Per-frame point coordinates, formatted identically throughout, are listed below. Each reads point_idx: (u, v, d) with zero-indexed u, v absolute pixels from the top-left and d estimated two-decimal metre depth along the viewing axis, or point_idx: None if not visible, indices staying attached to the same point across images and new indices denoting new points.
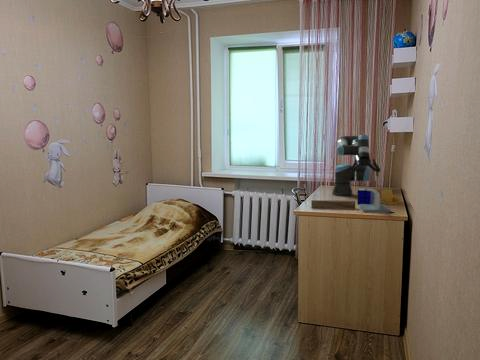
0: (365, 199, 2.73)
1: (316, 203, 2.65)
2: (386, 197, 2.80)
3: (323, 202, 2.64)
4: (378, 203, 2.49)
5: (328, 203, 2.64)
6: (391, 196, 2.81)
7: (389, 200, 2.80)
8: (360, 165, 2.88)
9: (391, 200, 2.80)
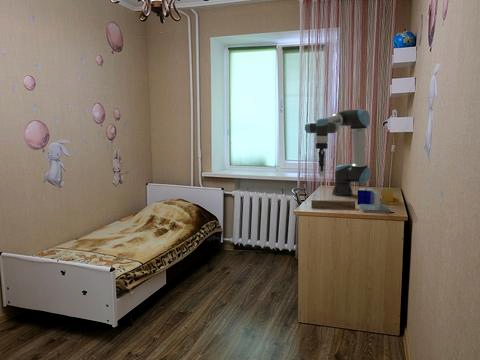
0: (365, 199, 2.73)
1: (316, 203, 2.65)
2: (387, 197, 2.79)
3: (323, 202, 2.64)
4: (378, 203, 2.49)
5: (328, 203, 2.64)
6: (392, 196, 2.80)
7: (389, 200, 2.79)
8: None
9: (391, 200, 2.80)
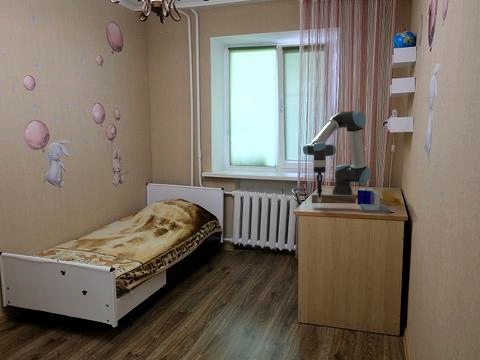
0: (365, 199, 2.73)
1: (316, 198, 2.65)
2: (388, 197, 2.78)
3: (323, 196, 2.64)
4: (378, 203, 2.49)
5: (328, 198, 2.63)
6: (393, 196, 2.79)
7: (390, 200, 2.78)
8: None
9: (393, 200, 2.79)
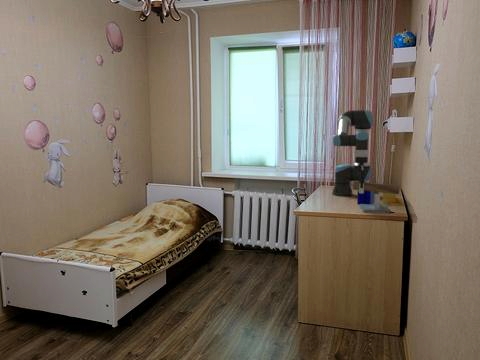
0: (365, 199, 2.73)
1: None
2: (389, 197, 2.77)
3: (366, 184, 2.56)
4: (378, 203, 2.49)
5: (371, 185, 2.55)
6: (394, 197, 2.78)
7: (392, 201, 2.77)
8: None
9: (394, 201, 2.77)
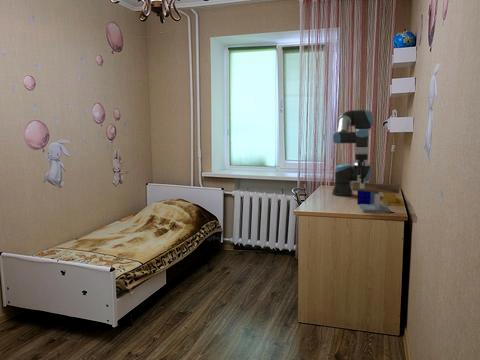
0: (365, 199, 2.73)
1: (358, 185, 2.57)
2: (389, 197, 2.77)
3: (366, 184, 2.56)
4: (378, 203, 2.49)
5: (370, 186, 2.55)
6: (394, 197, 2.77)
7: (392, 201, 2.77)
8: None
9: (394, 201, 2.77)
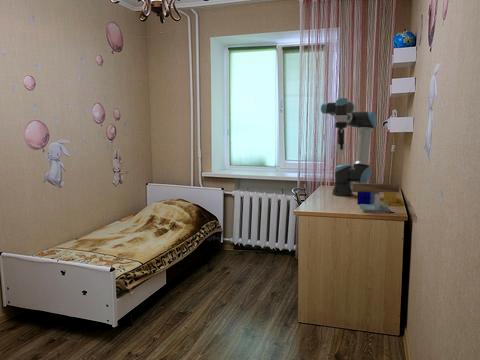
0: (365, 199, 2.73)
1: (358, 186, 2.57)
2: (390, 198, 2.76)
3: (365, 185, 2.56)
4: (378, 203, 2.49)
5: (370, 186, 2.56)
6: (395, 197, 2.76)
7: (393, 201, 2.76)
8: None
9: (395, 201, 2.76)
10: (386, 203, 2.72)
